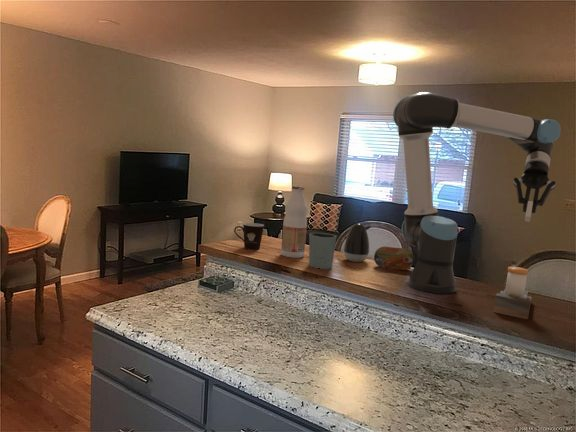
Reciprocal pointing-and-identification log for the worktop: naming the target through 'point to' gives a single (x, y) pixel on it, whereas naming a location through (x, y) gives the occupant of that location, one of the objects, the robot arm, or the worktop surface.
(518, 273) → the knob
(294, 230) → the fruit juice
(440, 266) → the robot arm
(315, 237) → the green tapered cup
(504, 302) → the knob mount
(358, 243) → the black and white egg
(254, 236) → the coffee mug
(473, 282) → the worktop surface
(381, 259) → the tin
